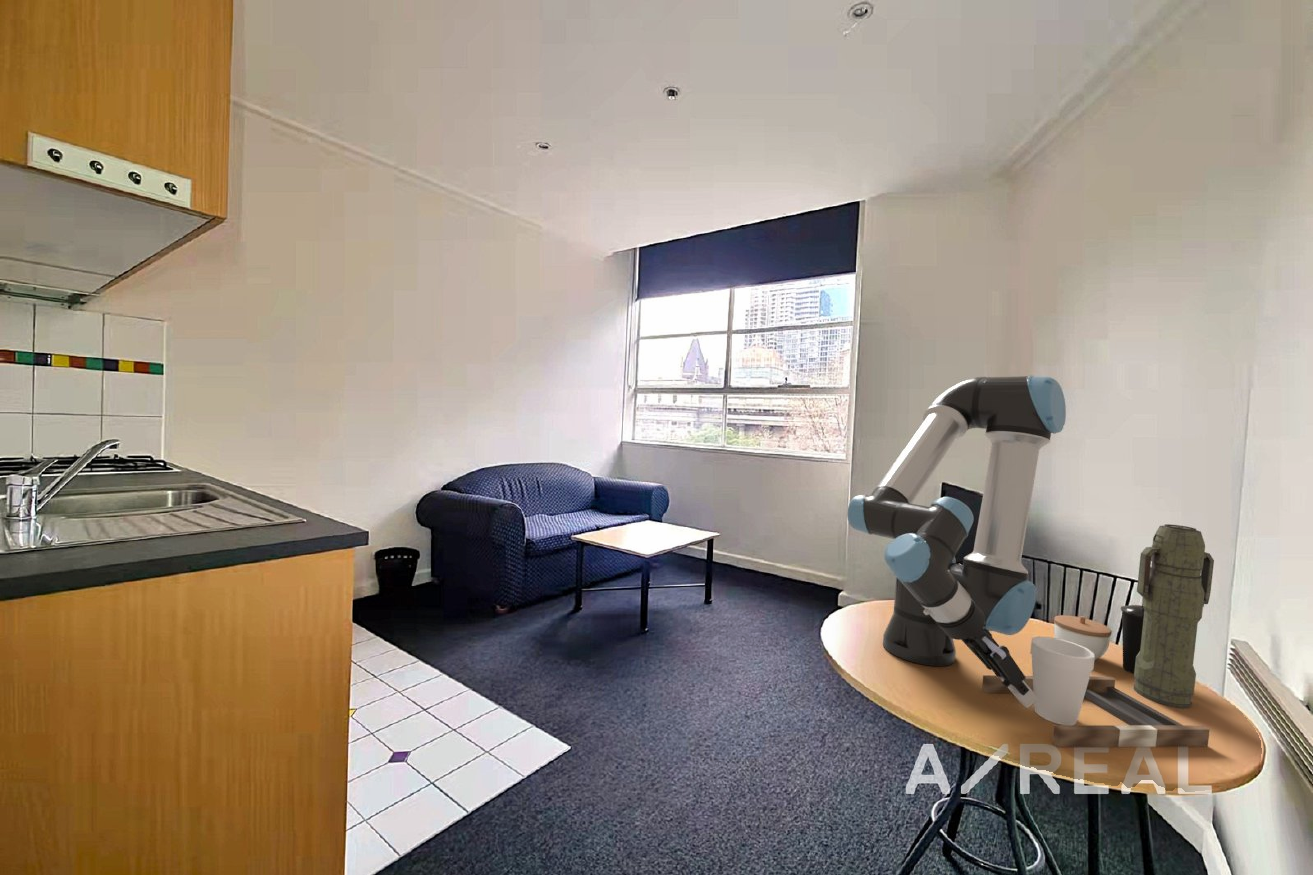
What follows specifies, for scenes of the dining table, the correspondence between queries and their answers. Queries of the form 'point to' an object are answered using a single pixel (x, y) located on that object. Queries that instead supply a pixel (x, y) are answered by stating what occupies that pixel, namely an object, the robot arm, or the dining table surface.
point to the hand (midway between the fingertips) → (1029, 701)
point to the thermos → (1171, 613)
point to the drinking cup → (1131, 634)
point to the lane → (1142, 719)
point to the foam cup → (1060, 678)
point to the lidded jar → (1083, 633)
